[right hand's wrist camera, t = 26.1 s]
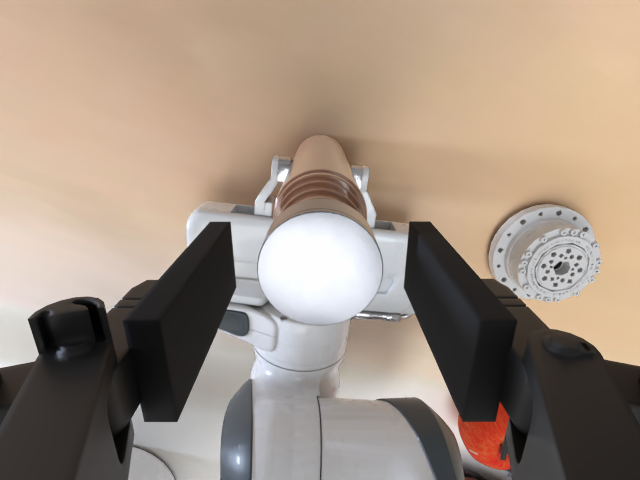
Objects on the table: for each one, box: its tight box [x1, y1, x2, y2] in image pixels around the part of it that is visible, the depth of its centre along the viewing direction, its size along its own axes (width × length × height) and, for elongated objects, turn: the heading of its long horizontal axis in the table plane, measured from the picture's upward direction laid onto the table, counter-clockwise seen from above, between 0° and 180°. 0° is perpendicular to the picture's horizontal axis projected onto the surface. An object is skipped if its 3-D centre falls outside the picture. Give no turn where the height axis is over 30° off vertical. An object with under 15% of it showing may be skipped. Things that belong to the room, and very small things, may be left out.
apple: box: [458, 402, 511, 470], centre depth 42 cm, size 8×8×8 cm
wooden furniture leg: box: [273, 135, 367, 221], centre depth 25 cm, size 5×5×24 cm
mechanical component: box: [488, 204, 602, 303], centre depth 37 cm, size 10×4×10 cm
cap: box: [257, 198, 383, 326], centre depth 14 cm, size 4×4×2 cm
